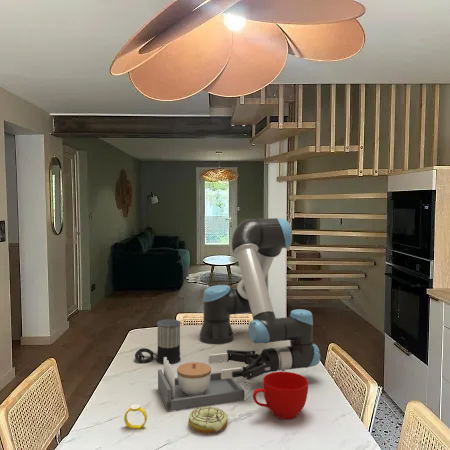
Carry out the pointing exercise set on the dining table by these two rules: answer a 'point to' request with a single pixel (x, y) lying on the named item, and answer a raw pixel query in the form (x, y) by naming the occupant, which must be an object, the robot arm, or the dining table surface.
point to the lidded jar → (194, 378)
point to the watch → (135, 408)
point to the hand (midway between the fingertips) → (214, 366)
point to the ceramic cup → (284, 394)
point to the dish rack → (213, 395)
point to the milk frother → (165, 343)
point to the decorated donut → (208, 419)
